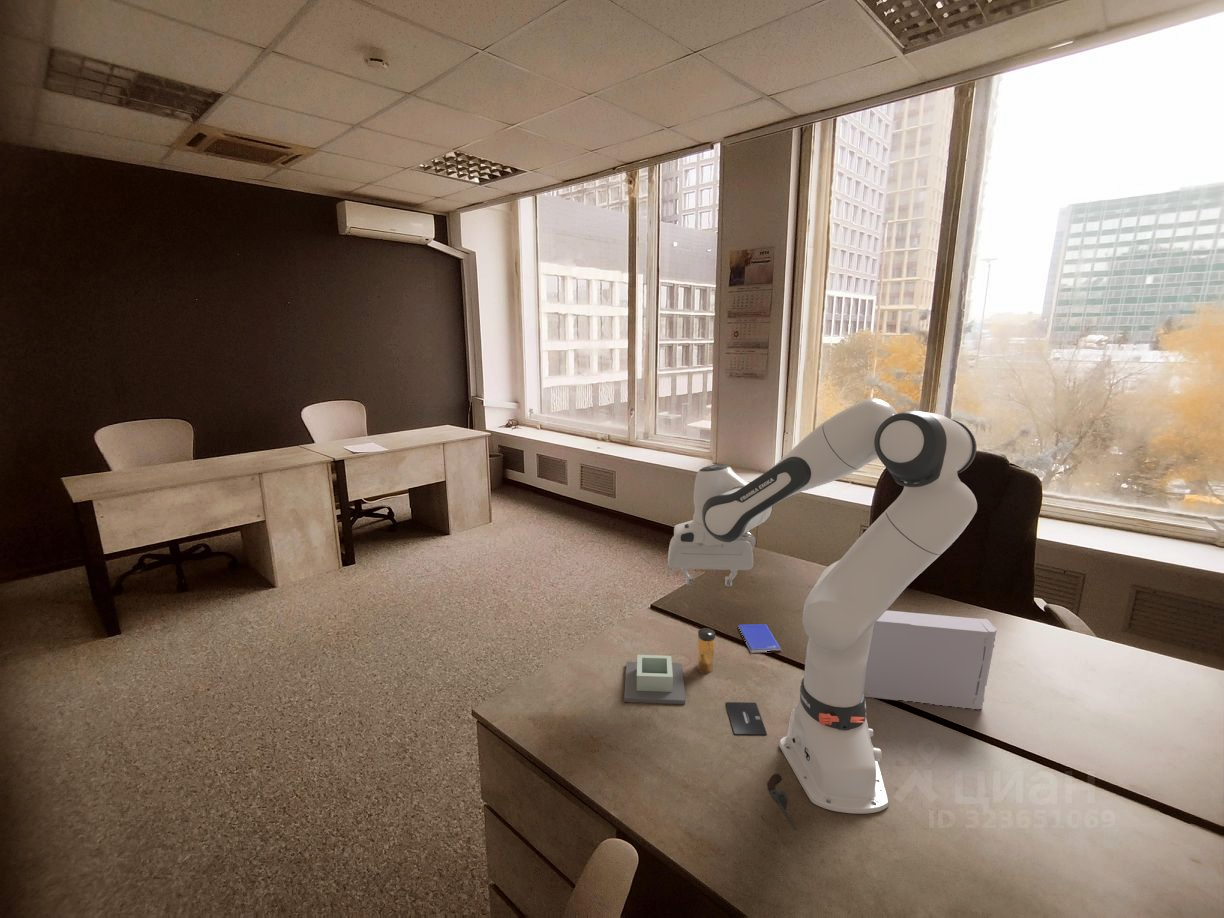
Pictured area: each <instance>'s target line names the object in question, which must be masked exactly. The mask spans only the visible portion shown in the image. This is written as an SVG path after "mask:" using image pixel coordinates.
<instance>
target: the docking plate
mask: <svg viewBox="0 0 1224 918" xmlns="http://www.w3.org/2000/svg"><path fill="white" fill-rule="evenodd" d="M636 658H637V659H636V660H637V661H626V666H625V680H624V681H625V682H624V684H625V685H624V702H625V703H642V704H643V703H645V704H647V703H648V704H672V705H673V704H674V705H675V704H676V705H686V694H685V684H684V676H683V674H684V673H683V664H682V663H681V662H680V663H679V662H678V663H675V662H673V658H672V655H661V654H659V655H658V654H657V655H656V654H655V655H654V654H637V656H636Z"/></svg>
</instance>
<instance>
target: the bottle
mask: <svg viewBox="0 0 1224 918" xmlns="http://www.w3.org/2000/svg"><path fill="white" fill-rule="evenodd" d="M697 632H698V633H697V637H698V638H697V639H698V644H697V660H696V661H697V662H696V663H697V664H696V665H697V670H698V671H699V672H701V673H704V674H706V673H707V674H709V673H711V672H713V671H714V663H715V661H714V660H715V658H714V657H715V643H716V642H715V639H716V632H715V631H714V630H713V629H711V628H709V627H704V628H699V630H698V631H697Z"/></svg>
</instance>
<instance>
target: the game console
mask: <svg viewBox="0 0 1224 918" xmlns="http://www.w3.org/2000/svg"><path fill="white" fill-rule="evenodd" d="M996 635H997V628H996V627H995V626H994V625H993V623H991V621H989V619H988V618H974V617H965V616H964V617H963V616H952V615H944V614H943V615H941V614H931V613H929V614H928V613H921V612H920V613H919V612H918V613H917V612H907V611H897V610H888V609H887V610H886V611H885V612H884V613H883V614H882V615H881V617H880V618H879V619H878V620H877V621H876V622H875V623H874V628H873V633H872V639H871V644H870V650H869V655H868V661H867V668H866V676H865V684H864V695H865V698H866V697H867V698H875V699H882V700H891V701H898V700H906V701H905V702H907V701H913V702H912V703H915V702H922V703H921V704H923V703H930V704H929V705H932V704H935V705H934V706H940V705H942V707H948V706H952V707H951V708H957V707H964V708H963V709H965V708H974V709H981V708H982V709H983V704H984V702H985V693H986V692H985V691H986V687H987V685H988V679H989V674H990V669H991V668H990V667H991V662H992V658H993V657H992V656H993V652H994V651H993V650H994V648H995V641H996ZM953 706H954V707H953ZM974 709H973V710H974ZM982 709H981V710H982Z"/></svg>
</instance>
